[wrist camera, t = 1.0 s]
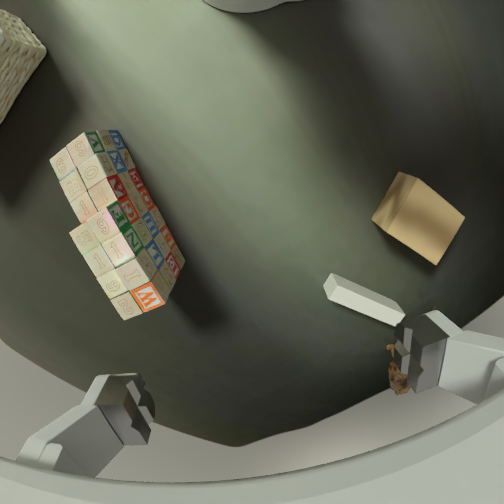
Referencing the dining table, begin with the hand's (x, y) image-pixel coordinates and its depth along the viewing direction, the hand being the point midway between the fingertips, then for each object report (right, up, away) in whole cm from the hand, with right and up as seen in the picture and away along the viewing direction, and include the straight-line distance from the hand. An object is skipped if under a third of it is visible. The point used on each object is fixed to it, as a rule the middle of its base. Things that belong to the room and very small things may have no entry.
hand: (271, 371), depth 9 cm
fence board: (+16, -3, +37) cm, 40 cm away
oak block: (+22, +9, +32) cm, 40 cm away
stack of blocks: (-17, +10, +33) cm, 38 cm away
